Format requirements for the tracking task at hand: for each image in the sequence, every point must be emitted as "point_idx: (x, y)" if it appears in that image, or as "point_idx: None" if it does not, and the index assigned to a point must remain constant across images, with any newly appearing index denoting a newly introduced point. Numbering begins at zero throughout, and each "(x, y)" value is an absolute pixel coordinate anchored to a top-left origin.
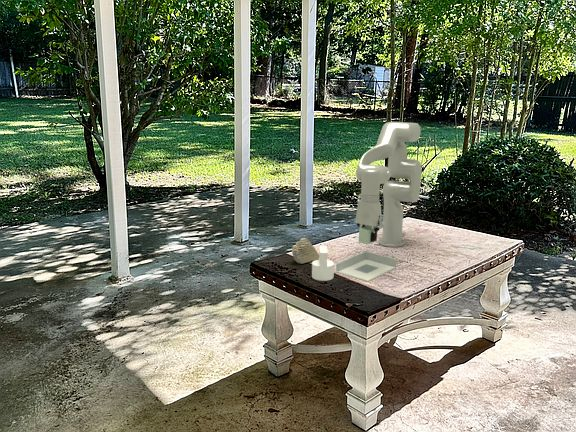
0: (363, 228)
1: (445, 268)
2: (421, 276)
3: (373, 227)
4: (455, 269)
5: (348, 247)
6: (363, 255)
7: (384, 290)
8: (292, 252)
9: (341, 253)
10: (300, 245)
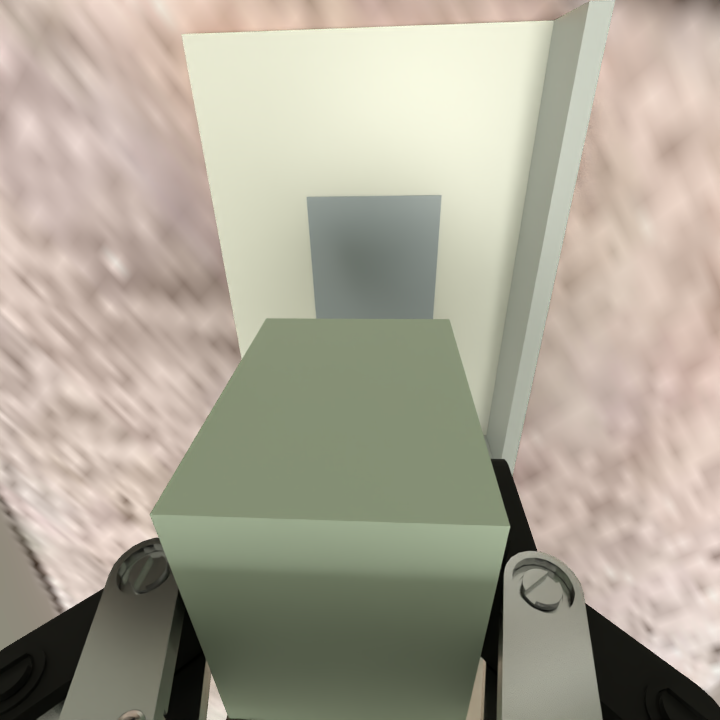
0: (409, 594)
1: (102, 556)
2: (70, 413)
3: (80, 700)
4: (69, 567)
5: (694, 536)
6: (498, 432)
7: None
8: None
9: (703, 436)
10: None
